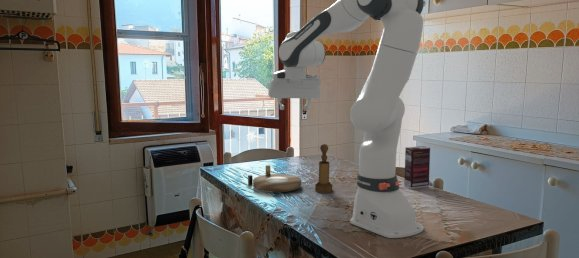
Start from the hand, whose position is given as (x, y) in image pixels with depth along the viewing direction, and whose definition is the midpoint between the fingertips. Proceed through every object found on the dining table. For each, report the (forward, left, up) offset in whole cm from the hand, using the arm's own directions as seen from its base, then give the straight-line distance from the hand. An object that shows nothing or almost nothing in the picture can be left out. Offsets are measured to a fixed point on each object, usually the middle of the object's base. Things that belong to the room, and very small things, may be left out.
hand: (293, 109), depth 163 cm
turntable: (-1, +8, -30) cm, 31 cm away
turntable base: (0, +9, -30) cm, 32 cm away
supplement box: (-26, -41, -31) cm, 57 cm away
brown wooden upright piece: (-13, -6, -31) cm, 34 cm away
